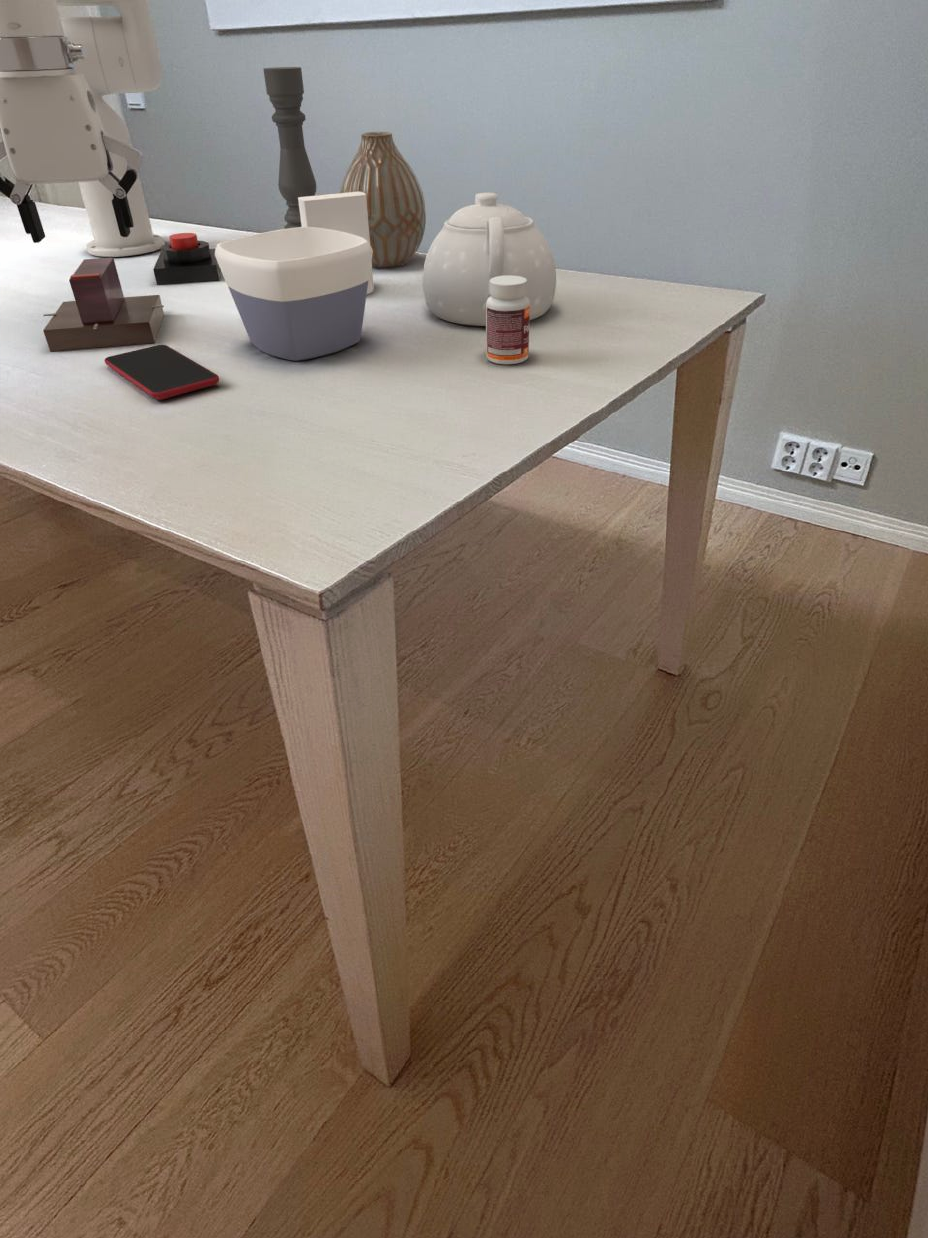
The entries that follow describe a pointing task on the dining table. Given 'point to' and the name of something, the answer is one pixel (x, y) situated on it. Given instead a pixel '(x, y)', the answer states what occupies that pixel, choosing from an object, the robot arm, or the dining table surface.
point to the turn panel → (106, 325)
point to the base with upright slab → (338, 216)
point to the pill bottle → (507, 320)
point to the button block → (186, 265)
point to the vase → (388, 199)
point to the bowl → (298, 289)
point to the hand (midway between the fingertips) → (83, 237)
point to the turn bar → (97, 290)
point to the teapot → (486, 261)
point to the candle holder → (290, 138)
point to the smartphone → (162, 371)
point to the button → (183, 240)
